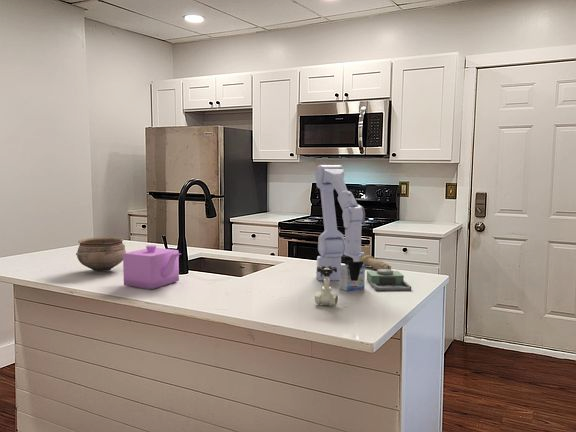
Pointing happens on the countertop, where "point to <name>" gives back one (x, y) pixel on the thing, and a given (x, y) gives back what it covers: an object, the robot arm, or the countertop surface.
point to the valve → (326, 288)
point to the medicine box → (346, 279)
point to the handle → (374, 263)
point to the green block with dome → (385, 277)
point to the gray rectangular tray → (391, 287)
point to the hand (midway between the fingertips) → (352, 278)
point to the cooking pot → (101, 253)
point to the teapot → (151, 267)
